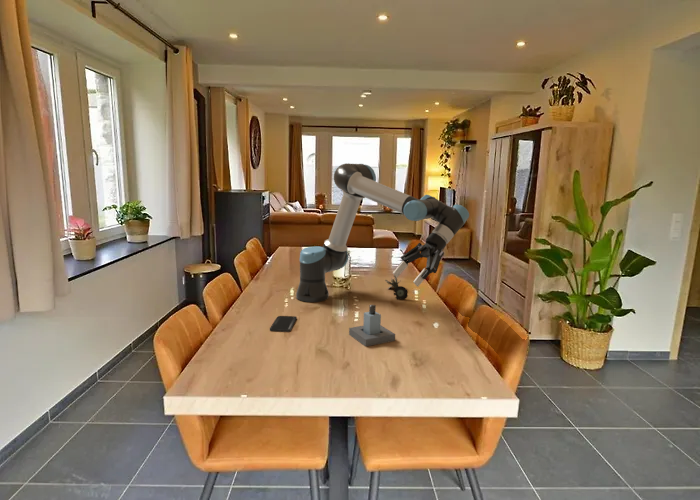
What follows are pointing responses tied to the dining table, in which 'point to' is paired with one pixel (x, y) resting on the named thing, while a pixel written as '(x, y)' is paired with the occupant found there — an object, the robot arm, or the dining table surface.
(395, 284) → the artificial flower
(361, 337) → the frame
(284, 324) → the phone
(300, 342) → the dining table surface
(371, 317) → the connector plug
